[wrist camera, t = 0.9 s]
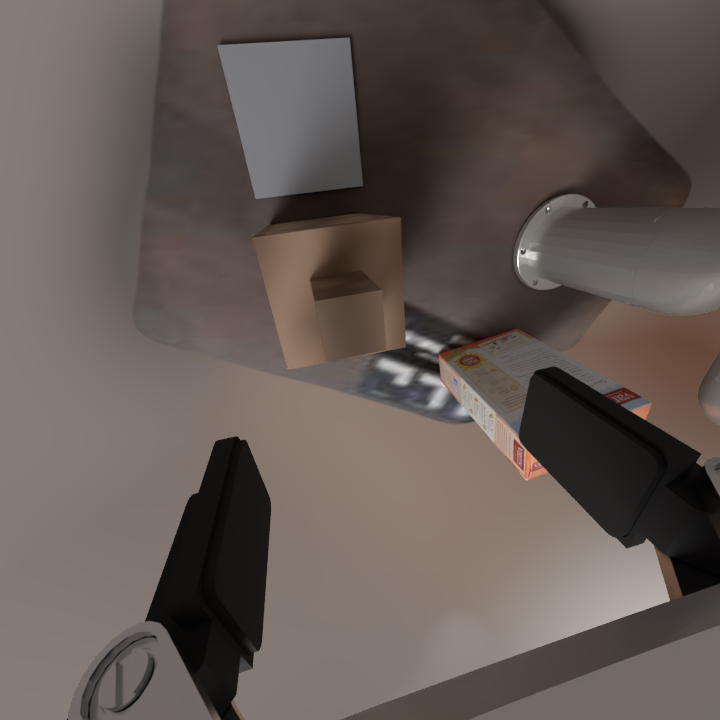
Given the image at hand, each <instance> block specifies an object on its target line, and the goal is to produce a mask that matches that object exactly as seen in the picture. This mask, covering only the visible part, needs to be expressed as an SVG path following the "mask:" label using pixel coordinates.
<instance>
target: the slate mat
mask: <svg viewBox="0 0 720 720" xmlns="http://www.w3.org/2000/svg"><path fill="white" fill-rule="evenodd" d="M217 46H218V50H219V54H220V58H221V62H222V66H223V70H224V74H225V78H226V82H227V86H228V90H229V94H230V98H231V102H232V106H233V110H234V114H235V118H236V122H237V126H238V130H239V134H240V138H241V142H242V146H243V150H244V154H245V158H246V162H247V166H248V170H249V174H250V178H251V182H252V186H253V190H254V194H255V198H256V199H261V198H269V197H278V196H286V195H294V194H302V193H310V192H319V191H327V190H335V189H343V188H351V187H360V186H363V179H362V168H361V157H360V146H359V135H358V124H357V113H356V102H355V91H354V80H353V69H352V58H351V47H350V38H334V39H316V40H299V41H282V42H264V43H247V44H230V45H217Z"/></svg>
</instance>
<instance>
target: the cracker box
mask: <svg viewBox="0 0 720 720" xmlns="http://www.w3.org/2000/svg"><path fill="white" fill-rule="evenodd" d="M439 365H440V374H441V381H442V382H443V384H444V385H445V386H446V387H447V388H448V390H449V391H450V392H451V393H452V394H453V395H454V397H455V398H456V399H457V400H458V401H459V402H460V404H461V405H462V406H463V407H464V408H465V409H466V411H467V412H468V413H469V414H470V415H471V416H472V418H473V419H474V420H475V421H476V422H477V423H478V425H479V426H480V427H481V428H482V429H483V430H484V432H485V433H486V434H487V435H488V436H489V438H490V439H491V440H492V441H493V442H494V443H495V445H496V446H497V447H498V448H499V449H500V450H501V452H502V453H503V454H504V455H505V456H506V457H507V458H508V460H509V461H510V462H511V463H512V464H513V465H514V467H515V468H516V469H517V470H518V471H519V472H520V473H521V475H522V476H523V477H524V478H525V479H526V480H530V479H532V478H535V477H537V476H540V475H543V474H546V473H549V472H548V471H547V470H546V469H545V468H544V467H543V466H542V465H541V464H540V463H539V462H538V461H537V460H536V459H535V458H534V457H533V456H532V455H531V454H530V452H529V451H528V450H527V449H526V448H525V447H524V446H523V445H522V444H521V442H520V440H519V430H520V425H521V420H522V415H523V410H524V406H525V401H526V396H527V391H528V387H529V382H530V378H531V377H532V376H533V374H534V372H535V371H536V370H539V369H543V368H548V367H552V366H554V367H558V368H560V369H562V370H563V371H565V372H567V373H568V374H570V375H572V376H573V377H575V378H577V379H578V380H580V381H581V382H583V383H585V384H586V385H588V386H590V387H591V388H593V389H595V390H596V391H598V392H600V393H601V394H603V395H605V396H606V397H608V398H610V399H611V400H613V401H615V402H616V403H618V404H620V405H621V406H623V407H624V408H626V409H628V410H629V411H631V412H633V413H634V414H636V415H638V416H639V417H641V418H643V419H644V420H646V417H647V415H648V413H649V410H650V407H651V404H652V403H651V402H649V401H647V400H646V399H644V398H642V397H640V396H638V395H637V394H635V393H634V392H632V391H630V390H628V389H626V388H624V387H622V386H620V385H619V384H617V383H615V382H613V381H612V380H610V379H608V378H606V377H604V376H603V375H601V374H599V373H597V372H595V371H593V370H592V369H590V368H588V367H586V366H584V365H583V364H581V363H579V362H577V361H575V360H573V359H572V358H570V357H568V356H566V355H564V354H563V353H561V352H559V351H557V350H555V349H554V348H552V347H550V346H548V345H546V344H545V343H543V342H541V341H539V340H537V339H536V338H534V337H532V336H530V335H528V334H526V333H525V332H523V331H521V330H519V329H513V330H510V331H507V332H504V333H501V334H498V335H495V336H492V337H489V338H486V339H483V340H480V341H477V342H473V343H470V344H467V345H464V346H461V347H458V348H455V349H452V350H449V351H446V352H443V353H440V354H439Z"/></svg>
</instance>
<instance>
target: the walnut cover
mask: <svg viewBox="0 0 720 720" xmlns="http://www.w3.org/2000/svg"><path fill="white" fill-rule="evenodd" d="M252 239H253V243H254V246H255V250H256V254H257V258H258V261H259V265H260V269H261V272H262V276H263V280H264V283H265V287H266V291H267V294H268V298H269V302H270V306H271V309H272V313H273V317H274V320H275V324H276V328H277V331H278V335H279V339H280V342H281V346H282V350H283V354H284V357H285V361H286V365H287V368H288V370H290V369H295V368H301V367H306V366H311V365H316V364H321V363H326V362H331V361H337V360H342V359H347V358H352V357H357V356H362V355H367V354H373V353H378V352H383V351H388V350H393V349H398V348H403V347H406V341H405V314H404V288H403V261H402V235H401V217H393V216H383V215H373V214H364V213H355V214H348V215H340V216H332V217H325V218H317V219H310V220H302V221H295V222H287V223H280V224H272V225H268V226H267V227H266V228H264V229H263V230H262V231H260V232H259V233H258V234H256V235H255V236H254V237H252Z"/></svg>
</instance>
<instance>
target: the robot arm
mask: <svg viewBox="0 0 720 720" xmlns="http://www.w3.org/2000/svg"><path fill="white" fill-rule="evenodd" d="M513 262H514V268H515V271H516V274H517V276H518V278H519V279H520V280H521V282H522V283H524V284H525V285H526V286H529V287H531V288H534V289H537V290H549V289H554V288H557V287H559V286H561V285H564V286H567V287H570V288H574V289H577V290H580V291H584V292H587V293H591V294H594V295H597V296H601V297H604V298H608V299H611V300H614V301H618V302H621V303H625V304H628V305H631V306H635V307H639V308H642V309H646V310H649V311H652V312H656V313H660V314H665V315H674V316H680V315H681V316H682V315H683V316H685V315H693V314H700V313H705V312H709V311H713V310H717V309H720V208H596V206H595V205H594V203H593V202H592V201H591V200H590V199H588V198H587V197H585V196H583V195H579V194H565V195H559V196H556V197H554V198H551V199H550V200H548V201H546V202H545V203H543V204H542V205H541V206H539V207H538V208H537V209H536V210H535V211H534V212H533V213H532V214H531V215H530V217H529V218H528V219H527V221H526V222H525V224H524V225H523V227H522V229H521V231H520V233H519V235H518V238H517V241H516V244H515V249H514V261H513ZM697 398H698V404H699V406H700V408H701V410H702V411H703V412H704V413H705V414H706V415H707V416H708V417H709V418H710V419H711V420H713V421H714V422H715V423H716V424H718V425H720V351H719V353H718V354H717V356H716V358H715V359H714V361H713V362H712V364H711V366H710V367H709V369H708V371H707V373H706V375H705V376H704V378H703V380H702V382H701V384H700V387H699V389H698V396H697ZM519 440H520V442H521V444H522V445H523V446H524V447H525V448H526V449H527V450H528V451H529V452H530V454H531V455H532V456H533V457H534V458H535V459H536V460H537V461H538V462H539V463H540V464H541V465H542V466H543V467H544V468H545V469H546V470H547V471H548V472H549V473H550V474H551V475H552V476H553V477H554V478H555V479H556V480H557V481H558V483H559V484H560V485H562V487H563V488H564V489H566V490H567V492H568V493H569V494H570V495H571V496H572V497H573V498H574V499H575V500H576V501H577V502H578V503H579V504H580V505H581V506H582V507H583V508H584V509H585V510H586V512H587V513H589V515H590V516H591V517H593V519H594V520H595V521H596V522H597V523H598V524H599V525H600V526H601V527H602V528H603V529H604V530H605V531H606V532H607V533H608V534H609V535H611V536H612V537H615V538H617V539H618V540H619V541H620V542H621V543H622V544H623V545H624V546H625V547H626V548H629V547H632V546H636V545H639V544H642V543H644V541H645V540H646V538H647V539H648V540H649V541H650V542H652V544H654V547H655V550H656V554H657V557H658V560H659V564H660V567H661V571H662V574H663V577H664V581H665V584H666V588H667V591H668V594H669V598H670V601H669V602H666V603H663V604H661V605H658V606H655V607H652V608H649V609H646V610H644V611H640V612H638V613H635V614H632V615H629V616H626V617H623V618H620V619H618V620H615V621H612V622H609V623H606V624H603V625H601V626H598V627H595V628H592V629H589V630H587V631H584V632H581V633H578V634H575V635H572V636H570V637H567V638H564V639H561V640H559V641H556V642H553V643H550V644H548V645H544V646H542V647H539V648H536V649H534V650H531V651H528V652H525V653H522V654H519V655H516V656H514V657H511V658H508V659H505V660H502V661H499V662H497V663H494V664H491V665H488V666H486V667H483V668H480V669H477V670H475V671H472V672H469V673H466V674H463V675H461V676H458V677H455V678H453V679H450V680H447V681H444V682H441V683H438V684H436V685H433V686H430V687H428V688H425V689H422V690H419V691H416V692H414V693H411V694H408V695H406V696H403V697H400V698H397V699H394V700H392V701H389V702H386V703H383V704H380V705H378V706H375V707H372V708H370V709H367V710H364V711H362V712H359V713H357V714H354V715H351V716H349V717H346V718H344V719H341V720H720V457H716V458H712V459H709V460H707V461H706V463H705V464H704V466H703V467H701V466H700V465H698V464H697V463H696V461H697V460H698V458H699V457H700V455H701V454H700V453H699V452H697V451H696V450H694V449H692V448H691V447H689V446H687V445H686V444H684V443H682V442H681V441H679V440H677V439H676V438H674V437H672V436H671V435H669V434H667V433H666V432H664V431H663V430H661V429H659V428H658V427H656V426H654V425H653V424H651V423H649V422H648V421H646V420H644V419H643V418H641V417H639V416H638V415H636V414H634V413H633V412H631V411H629V410H628V409H626V408H624V407H623V406H621V405H620V404H618V403H616V402H615V401H613V400H611V399H610V398H608V397H606V396H605V395H603V394H601V393H600V392H598V391H596V390H595V389H593V388H591V387H590V386H588V385H586V384H585V383H583V382H581V381H580V380H578V379H577V378H575V377H573V376H572V375H570V374H568V373H567V372H565V371H563V370H562V369H560V368H558V367H554V366H552V367H548V368H543V369H539V370H536V371H535V372H534V374H533V376H532V377H531V378H530V382H529V387H528V391H527V396H526V401H525V406H524V410H523V415H522V420H521V425H520V430H519ZM270 517H271V501H270V497H269V494H268V492H267V490H266V487H265V485H264V482H263V480H262V477H261V475H260V473H259V470H258V468H257V465H256V463H255V461H254V458H253V455H252V453H251V451H250V448H249V446H248V443H247V442H246V440H241V441H240V439H239V438H238V437H237V436H236V437H231V438H227V439H222V440H218V441H216V442H215V444H214V447H213V450H212V453H211V456H210V459H209V462H208V465H207V468H206V471H205V475H204V477H203V481H202V483H201V487H200V490H199V493H196V494H193V495H192V496H191V497H190V498H189V500H188V502H187V505H186V507H185V510H184V513H183V516H182V519H181V521H180V524H179V527H178V530H177V533H176V535H175V538H174V541H173V544H172V547H171V550H170V552H169V556H168V558H167V561H166V564H165V567H164V569H163V572H162V575H161V578H160V581H159V583H158V586H157V589H156V592H155V595H154V598H153V600H152V604H151V606H150V609H149V612H148V614H147V618H146V620H145V622H142V623H138V624H136V625H134V626H132V627H130V628H128V629H126V630H125V631H123V632H122V633H121V634H119V635H118V636H117V637H115V638H114V639H113V640H111V641H110V642H109V643H108V644H107V645H106V646H105V648H104V649H103V650H102V651H101V652H100V653H99V654H98V655H97V656H96V657H95V659H94V660H93V662H92V663H91V664H90V666H89V667H88V669H87V670H86V672H85V673H84V675H83V677H82V678H81V680H80V683H79V684H78V686H77V689H76V690H75V692H74V695H73V698H72V702H71V706H70V709H69V713H68V716H69V717H68V719H67V720H245V719H244V718H243V716H242V714H241V713H240V711H239V709H238V707H237V706H236V704H235V702H234V701H233V699H234V697H235V696H236V692H237V683H238V675H239V673H240V672H243V671H246V670H250V669H252V668H253V656H254V652H256V651H259V650H260V647H261V643H262V631H263V618H264V604H265V589H266V575H267V561H268V545H269V532H270Z"/></svg>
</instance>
